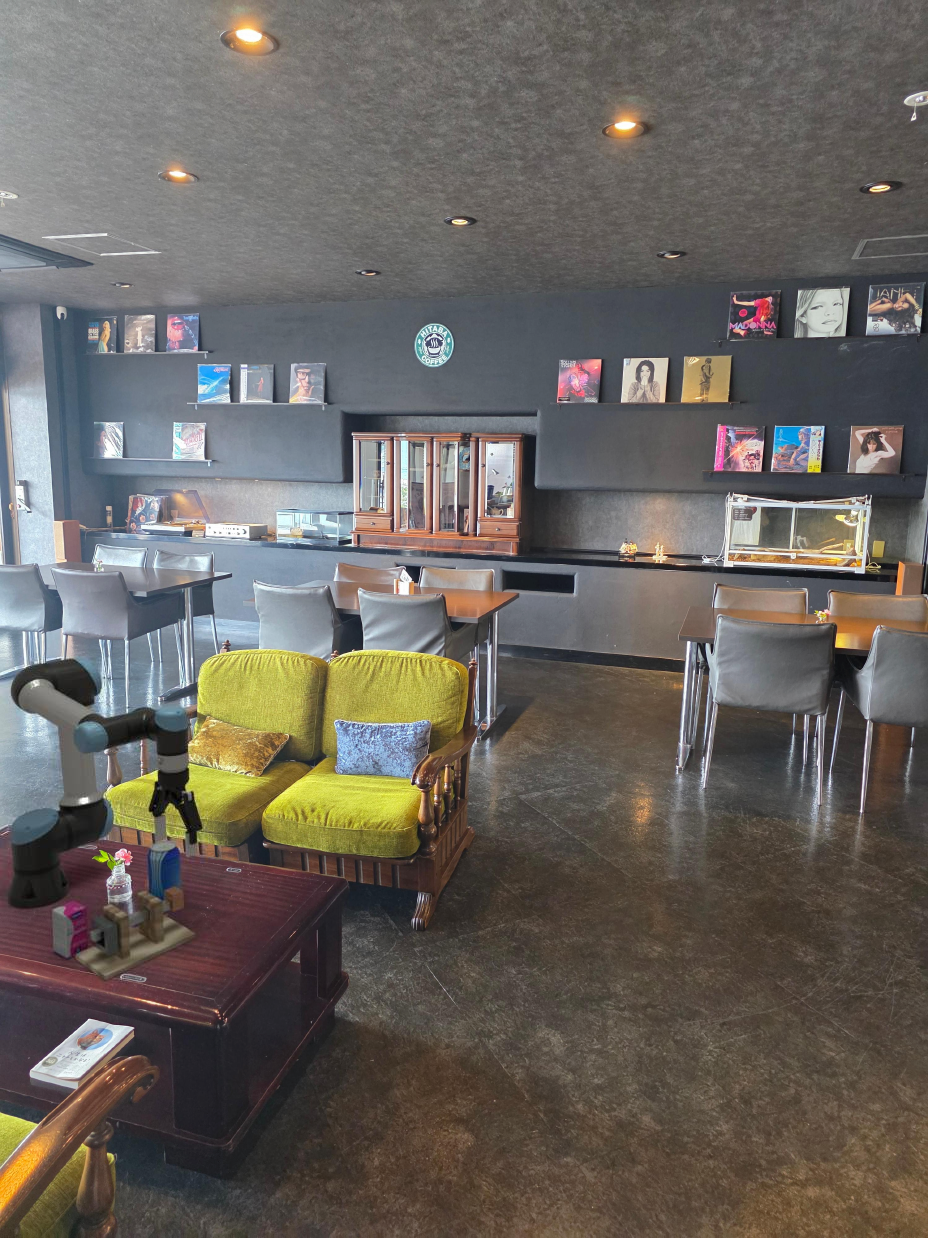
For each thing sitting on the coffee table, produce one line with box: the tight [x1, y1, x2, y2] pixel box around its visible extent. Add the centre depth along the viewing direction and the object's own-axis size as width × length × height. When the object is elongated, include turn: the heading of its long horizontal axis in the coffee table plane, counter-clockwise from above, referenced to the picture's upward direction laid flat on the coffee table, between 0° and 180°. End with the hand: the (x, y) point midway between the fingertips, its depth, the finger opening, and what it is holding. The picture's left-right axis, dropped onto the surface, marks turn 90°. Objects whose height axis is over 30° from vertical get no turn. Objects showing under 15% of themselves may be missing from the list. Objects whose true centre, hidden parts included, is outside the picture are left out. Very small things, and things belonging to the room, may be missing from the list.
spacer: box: [91, 914, 118, 956], centre depth 196 cm, size 7×2×7 cm, turn 52°
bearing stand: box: [74, 890, 196, 982], centre depth 202 cm, size 14×24×12 cm, turn 142°
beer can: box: [147, 840, 182, 901], centre depth 226 cm, size 8×8×16 cm
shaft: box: [89, 886, 185, 942], centre depth 202 cm, size 4×23×4 cm, turn 142°
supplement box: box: [51, 900, 89, 960], centre depth 200 cm, size 6×6×12 cm
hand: (175, 847), depth 208 cm, fingers open, 13 cm apart
